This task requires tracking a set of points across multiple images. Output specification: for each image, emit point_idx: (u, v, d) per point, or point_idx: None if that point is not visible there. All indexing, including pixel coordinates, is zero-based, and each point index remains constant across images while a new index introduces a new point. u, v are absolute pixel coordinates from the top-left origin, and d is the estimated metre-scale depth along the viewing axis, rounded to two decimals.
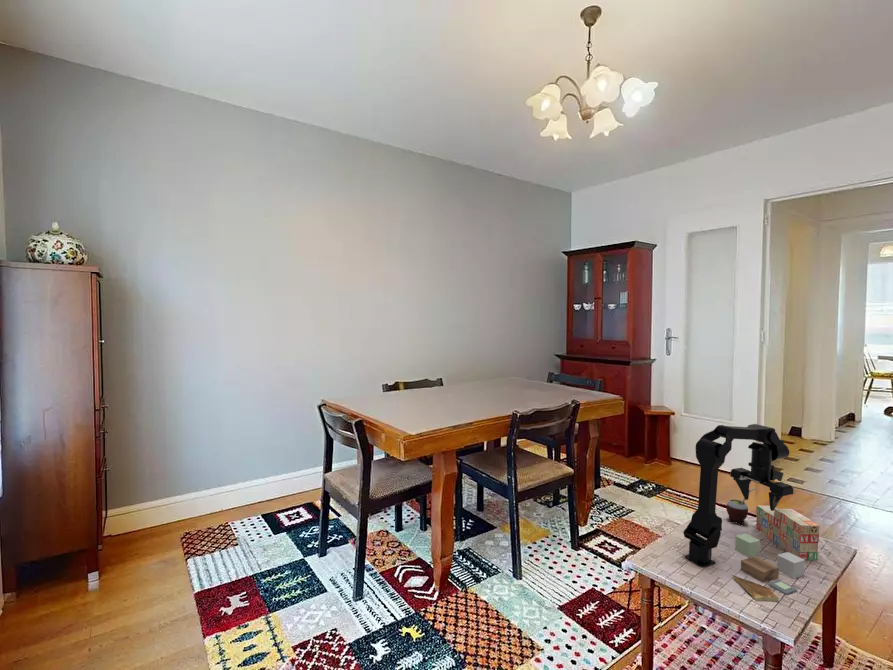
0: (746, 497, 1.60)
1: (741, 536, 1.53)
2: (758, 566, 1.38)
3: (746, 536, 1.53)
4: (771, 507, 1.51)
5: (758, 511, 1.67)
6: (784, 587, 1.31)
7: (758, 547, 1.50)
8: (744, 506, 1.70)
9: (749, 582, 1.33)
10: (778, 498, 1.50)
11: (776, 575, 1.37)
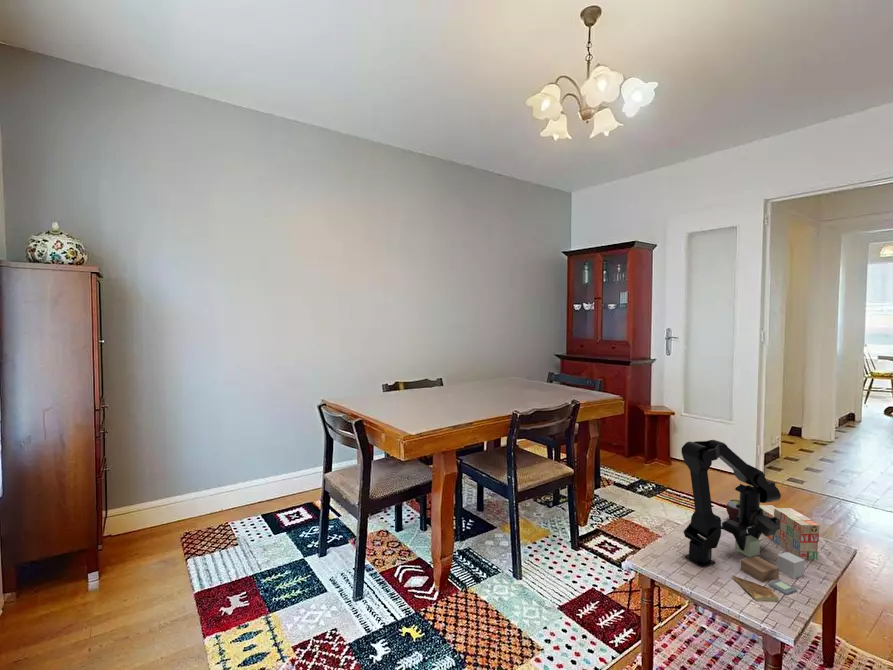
0: None
1: None
2: (758, 566, 1.38)
3: None
4: None
5: None
6: (784, 587, 1.31)
7: (758, 547, 1.50)
8: None
9: (749, 582, 1.33)
10: (741, 538, 1.49)
11: (776, 576, 1.37)
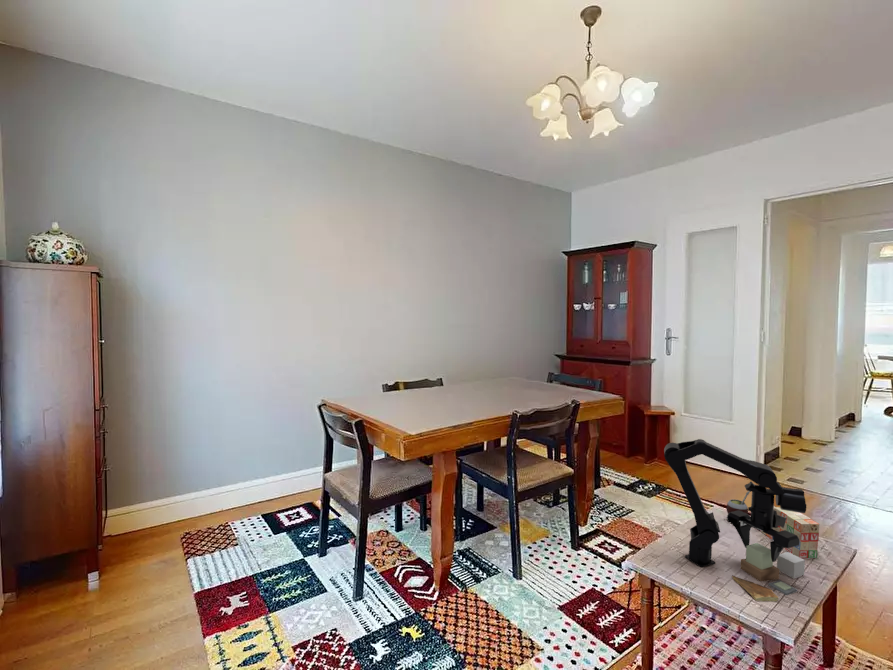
0: (747, 545, 1.42)
1: (759, 550, 1.37)
2: None
3: (755, 547, 1.39)
4: (773, 558, 1.34)
5: None
6: (784, 587, 1.31)
7: None
8: (744, 506, 1.70)
9: (749, 582, 1.33)
10: (780, 548, 1.34)
11: (775, 576, 1.36)
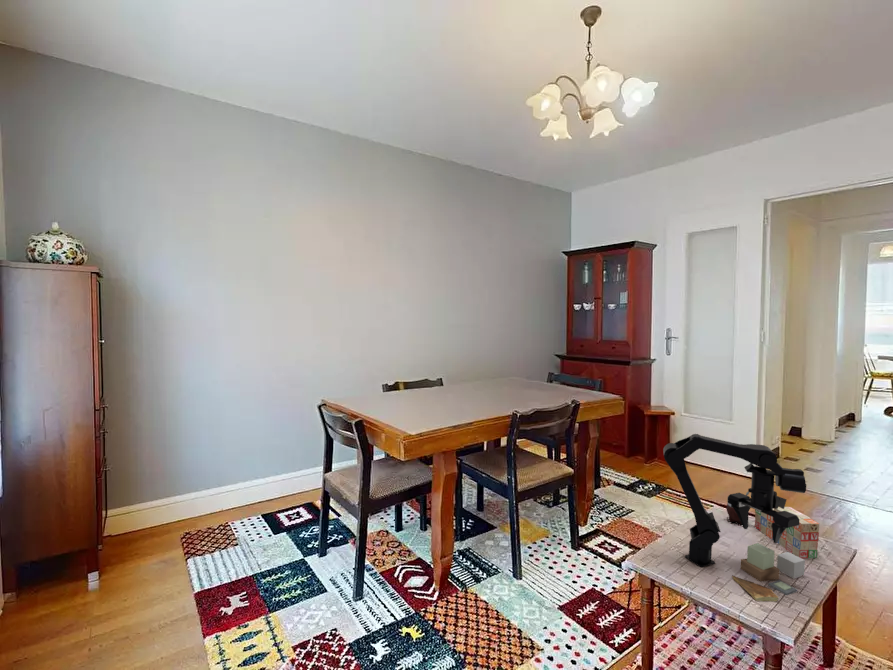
0: (745, 526, 1.43)
1: (761, 551, 1.37)
2: None
3: (756, 548, 1.39)
4: (774, 539, 1.34)
5: (756, 510, 1.68)
6: (784, 587, 1.31)
7: None
8: None
9: (749, 582, 1.33)
10: (782, 529, 1.34)
11: (775, 576, 1.36)
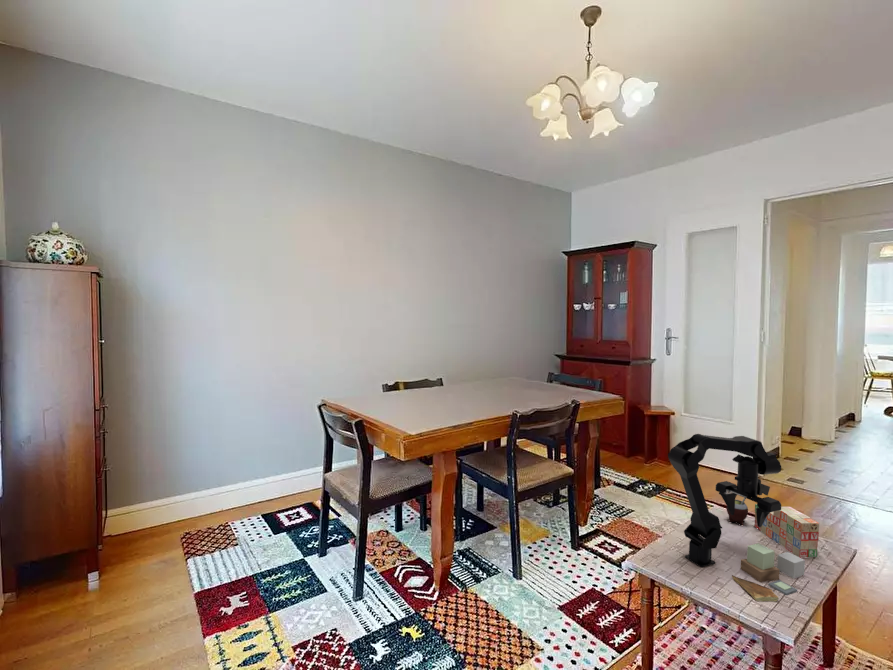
0: (732, 512, 1.53)
1: (760, 551, 1.37)
2: None
3: (756, 547, 1.39)
4: (758, 523, 1.44)
5: None
6: (784, 587, 1.31)
7: None
8: (744, 506, 1.70)
9: (749, 582, 1.33)
10: (765, 514, 1.44)
11: (776, 577, 1.36)
